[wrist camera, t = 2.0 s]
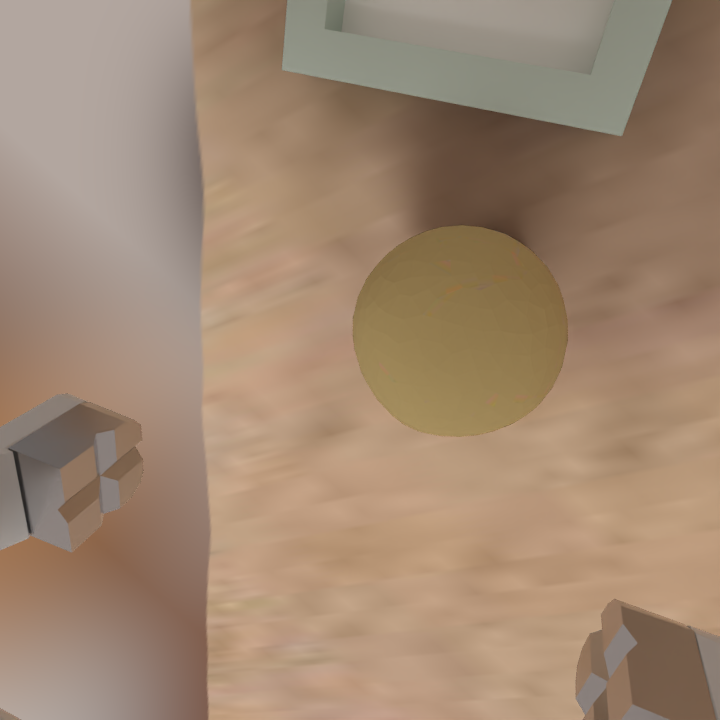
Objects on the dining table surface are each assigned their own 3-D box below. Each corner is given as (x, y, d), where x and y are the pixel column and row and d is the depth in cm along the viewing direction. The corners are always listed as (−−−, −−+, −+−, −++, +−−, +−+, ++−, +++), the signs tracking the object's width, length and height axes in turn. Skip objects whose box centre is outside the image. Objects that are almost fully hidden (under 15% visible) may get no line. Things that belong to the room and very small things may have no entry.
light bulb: (586, 321, 22) (596, 461, 13) (440, 356, 25) (372, 489, 16) (543, 166, 20) (523, 215, 12) (391, 223, 23) (285, 296, 14)
